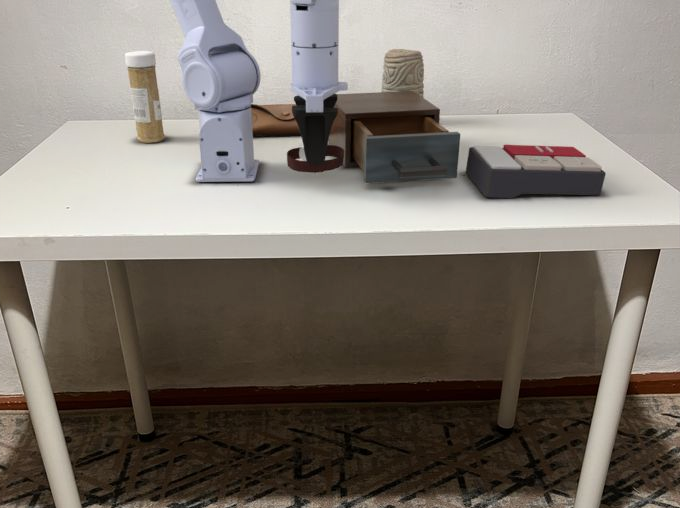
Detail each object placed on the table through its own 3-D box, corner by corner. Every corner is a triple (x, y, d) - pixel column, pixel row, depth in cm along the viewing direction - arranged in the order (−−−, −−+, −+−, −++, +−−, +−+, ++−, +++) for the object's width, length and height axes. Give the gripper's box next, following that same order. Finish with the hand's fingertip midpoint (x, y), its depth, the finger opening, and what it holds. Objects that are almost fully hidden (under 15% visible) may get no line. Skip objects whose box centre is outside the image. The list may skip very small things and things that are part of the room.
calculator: (608, 166, 87) (490, 163, 86) (600, 200, 90) (485, 197, 88) (576, 144, 97) (469, 141, 96) (569, 175, 99) (464, 172, 98)
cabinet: (436, 162, 103) (440, 109, 99) (345, 168, 101) (345, 113, 97) (410, 139, 114) (413, 90, 110) (328, 144, 112) (328, 94, 108)
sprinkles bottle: (170, 140, 115) (160, 52, 108) (146, 145, 113) (134, 55, 106) (155, 135, 118) (144, 49, 111) (131, 140, 116) (118, 52, 109)
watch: (338, 161, 95) (338, 134, 93) (349, 170, 91) (350, 142, 89) (283, 166, 93) (282, 138, 91) (292, 176, 89) (291, 147, 87)
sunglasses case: (233, 136, 115) (230, 95, 115) (234, 148, 122) (232, 110, 122) (342, 132, 117) (339, 92, 117) (337, 145, 124) (335, 107, 124)
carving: (373, 122, 125) (375, 49, 119) (410, 117, 128) (413, 46, 121) (391, 129, 120) (394, 54, 114) (428, 125, 123) (433, 51, 116)
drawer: (470, 189, 89) (474, 143, 86) (374, 196, 87) (376, 149, 84) (428, 153, 104) (431, 112, 101) (346, 157, 102) (346, 116, 99)
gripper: (350, 54, 78) (348, 174, 85) (346, 37, 91) (345, 143, 98) (286, 54, 78) (290, 174, 85) (291, 37, 91) (294, 143, 98)
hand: (315, 157), depth 91 cm, fingers closed on watch, 5 cm apart
